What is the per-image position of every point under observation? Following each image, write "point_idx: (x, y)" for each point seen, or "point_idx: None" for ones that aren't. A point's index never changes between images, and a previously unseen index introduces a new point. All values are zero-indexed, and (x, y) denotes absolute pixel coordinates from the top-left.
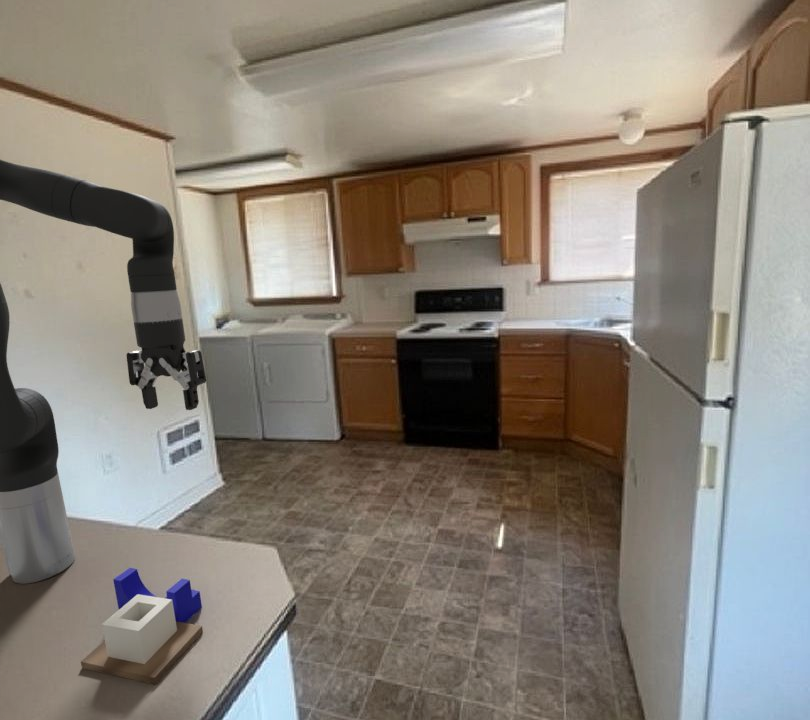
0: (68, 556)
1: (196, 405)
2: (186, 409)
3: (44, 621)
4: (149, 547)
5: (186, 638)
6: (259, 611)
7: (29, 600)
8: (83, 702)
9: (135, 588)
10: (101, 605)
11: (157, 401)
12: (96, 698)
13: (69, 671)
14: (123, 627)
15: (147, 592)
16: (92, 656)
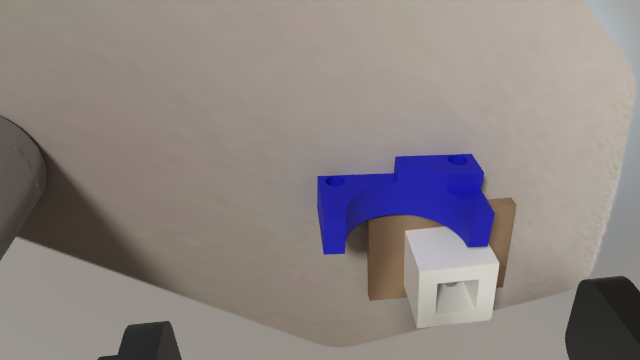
0: (25, 155)
1: (624, 287)
2: (570, 351)
3: (199, 258)
4: (155, 17)
5: (504, 229)
6: (594, 131)
7: (97, 236)
8: None
9: (350, 214)
10: (262, 205)
11: (160, 350)
12: None
13: (354, 299)
14: (460, 323)
15: (363, 193)
16: (379, 291)
